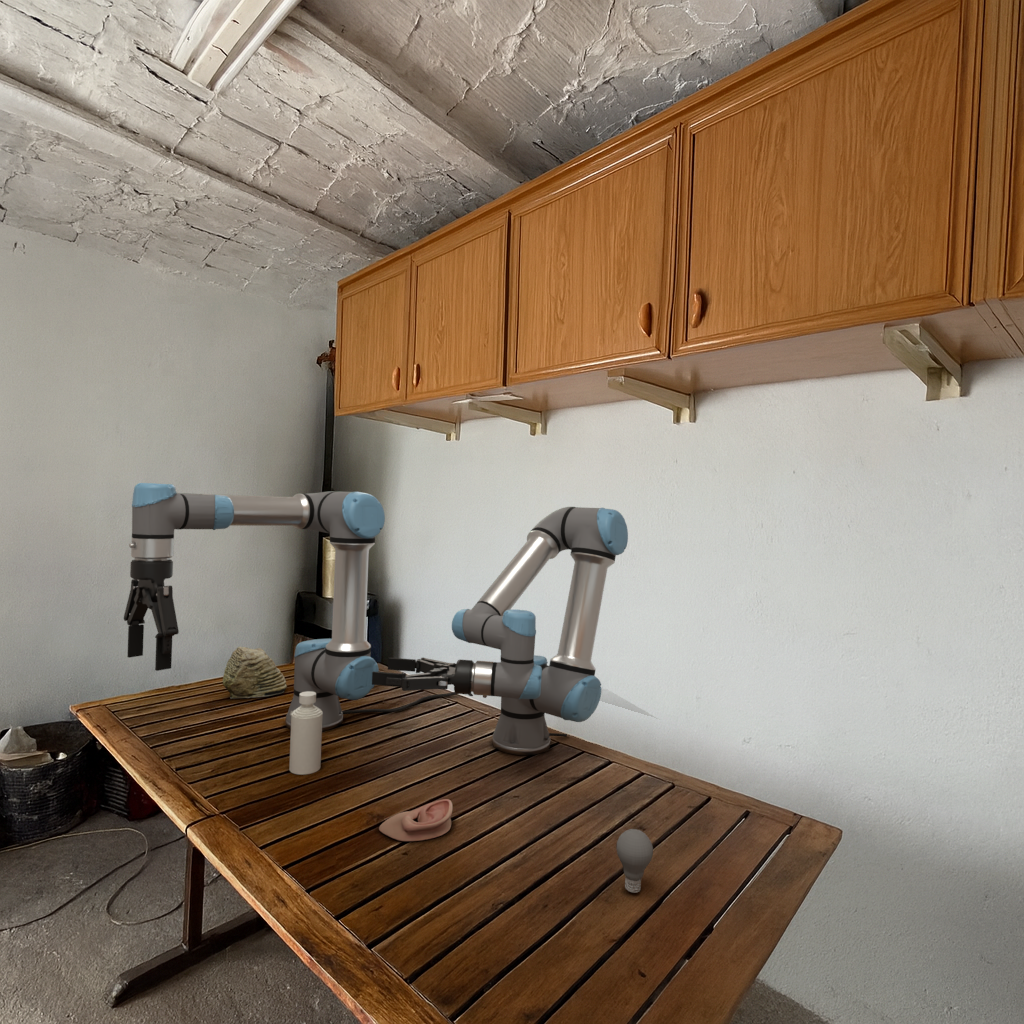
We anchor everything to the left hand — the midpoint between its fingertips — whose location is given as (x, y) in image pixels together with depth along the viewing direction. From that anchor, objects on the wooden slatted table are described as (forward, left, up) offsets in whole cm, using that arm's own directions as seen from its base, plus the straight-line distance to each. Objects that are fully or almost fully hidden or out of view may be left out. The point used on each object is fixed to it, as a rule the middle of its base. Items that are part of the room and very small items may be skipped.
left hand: (148, 662), depth 129 cm
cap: (-31, +10, -11) cm, 34 cm away
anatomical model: (-30, +49, -28) cm, 64 cm away
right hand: (-39, +25, -4) cm, 47 cm away
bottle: (-31, +10, -28) cm, 43 cm away
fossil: (-50, -47, -28) cm, 74 cm away
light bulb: (-41, +90, -28) cm, 103 cm away
